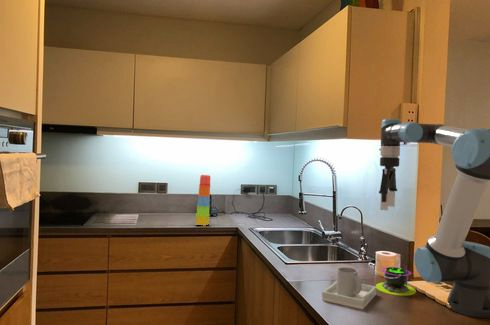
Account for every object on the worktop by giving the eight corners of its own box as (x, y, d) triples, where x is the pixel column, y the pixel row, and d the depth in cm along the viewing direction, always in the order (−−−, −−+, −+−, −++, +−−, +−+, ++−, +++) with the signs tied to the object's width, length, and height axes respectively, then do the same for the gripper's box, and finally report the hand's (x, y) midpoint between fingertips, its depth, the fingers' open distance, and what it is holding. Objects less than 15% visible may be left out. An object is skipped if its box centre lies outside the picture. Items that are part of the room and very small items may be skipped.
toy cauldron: (370, 282, 169) (371, 255, 169) (406, 283, 169) (408, 257, 169) (382, 295, 154) (383, 266, 154) (422, 296, 154) (423, 267, 154)
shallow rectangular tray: (376, 294, 154) (376, 286, 154) (362, 309, 139) (363, 300, 139) (338, 286, 162) (338, 279, 162) (322, 300, 147) (322, 291, 147)
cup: (345, 289, 156) (346, 266, 156) (367, 297, 148) (368, 273, 148) (332, 292, 152) (333, 268, 152) (353, 301, 144) (354, 276, 144)
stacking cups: (195, 223, 286) (196, 174, 285) (210, 224, 287) (211, 174, 285) (194, 226, 276) (195, 175, 274) (209, 227, 276) (210, 175, 275)
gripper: (386, 156, 181) (384, 204, 182) (373, 156, 160) (370, 210, 161) (404, 157, 177) (402, 205, 178) (393, 157, 156) (390, 212, 157)
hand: (387, 208), depth 169 cm, fingers open, 13 cm apart
